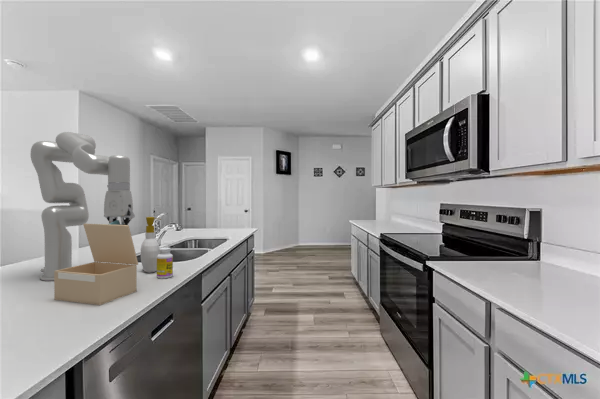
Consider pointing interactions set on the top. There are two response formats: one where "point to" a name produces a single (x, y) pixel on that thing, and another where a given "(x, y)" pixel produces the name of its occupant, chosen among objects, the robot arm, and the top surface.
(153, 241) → the soap bottle
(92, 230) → the lid
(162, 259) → the supplement bottle
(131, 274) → the carton
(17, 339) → the top surface
